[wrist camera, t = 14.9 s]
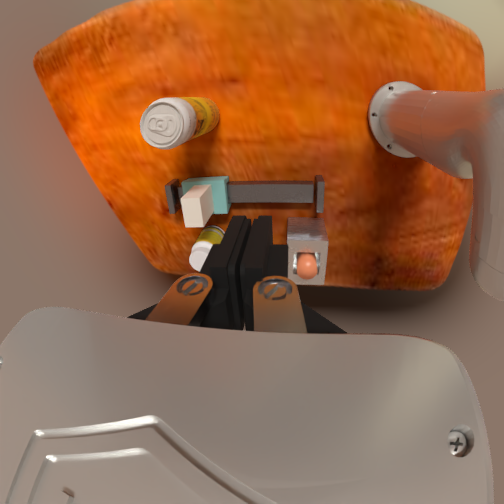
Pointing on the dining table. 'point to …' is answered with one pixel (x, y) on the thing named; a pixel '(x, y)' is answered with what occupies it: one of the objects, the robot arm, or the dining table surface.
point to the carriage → (204, 199)
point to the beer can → (178, 120)
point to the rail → (259, 192)
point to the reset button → (306, 265)
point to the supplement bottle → (205, 245)
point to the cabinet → (307, 247)
